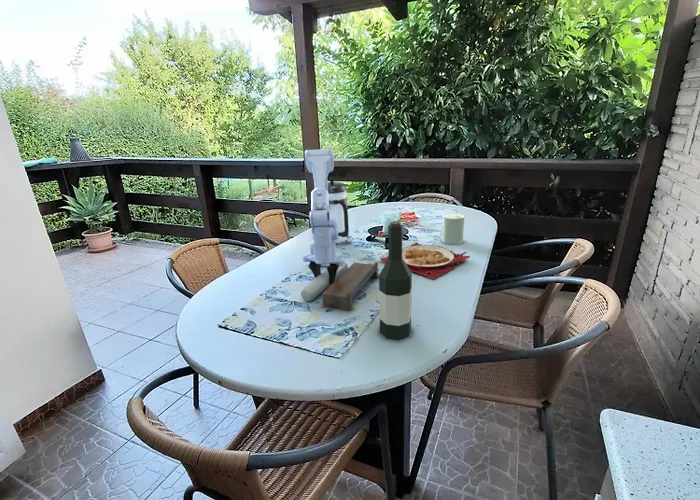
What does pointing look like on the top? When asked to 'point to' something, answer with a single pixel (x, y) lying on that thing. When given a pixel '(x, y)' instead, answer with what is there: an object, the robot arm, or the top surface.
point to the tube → (320, 283)
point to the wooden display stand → (348, 286)
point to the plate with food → (429, 259)
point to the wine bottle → (395, 289)
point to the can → (453, 228)
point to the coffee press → (339, 208)
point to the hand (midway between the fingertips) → (325, 282)
